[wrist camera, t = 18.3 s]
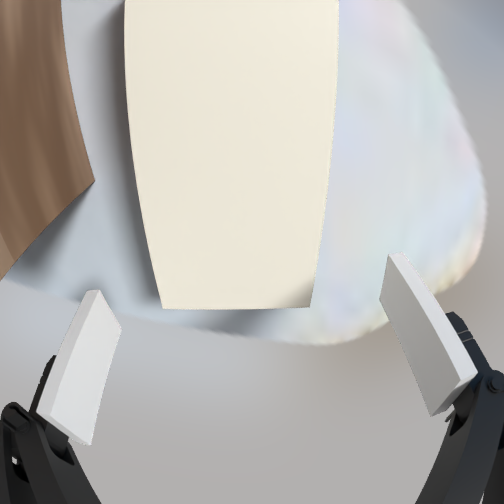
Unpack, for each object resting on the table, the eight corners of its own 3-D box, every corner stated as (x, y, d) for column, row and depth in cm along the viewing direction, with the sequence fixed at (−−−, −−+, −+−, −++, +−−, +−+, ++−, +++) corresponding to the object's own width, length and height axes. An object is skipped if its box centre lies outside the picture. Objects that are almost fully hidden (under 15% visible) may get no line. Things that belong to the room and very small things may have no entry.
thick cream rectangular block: (175, 265, 19) (162, 308, 16) (154, -28, 9) (129, -53, 5) (298, 263, 19) (309, 307, 16) (313, -31, 9) (336, -59, 6)
